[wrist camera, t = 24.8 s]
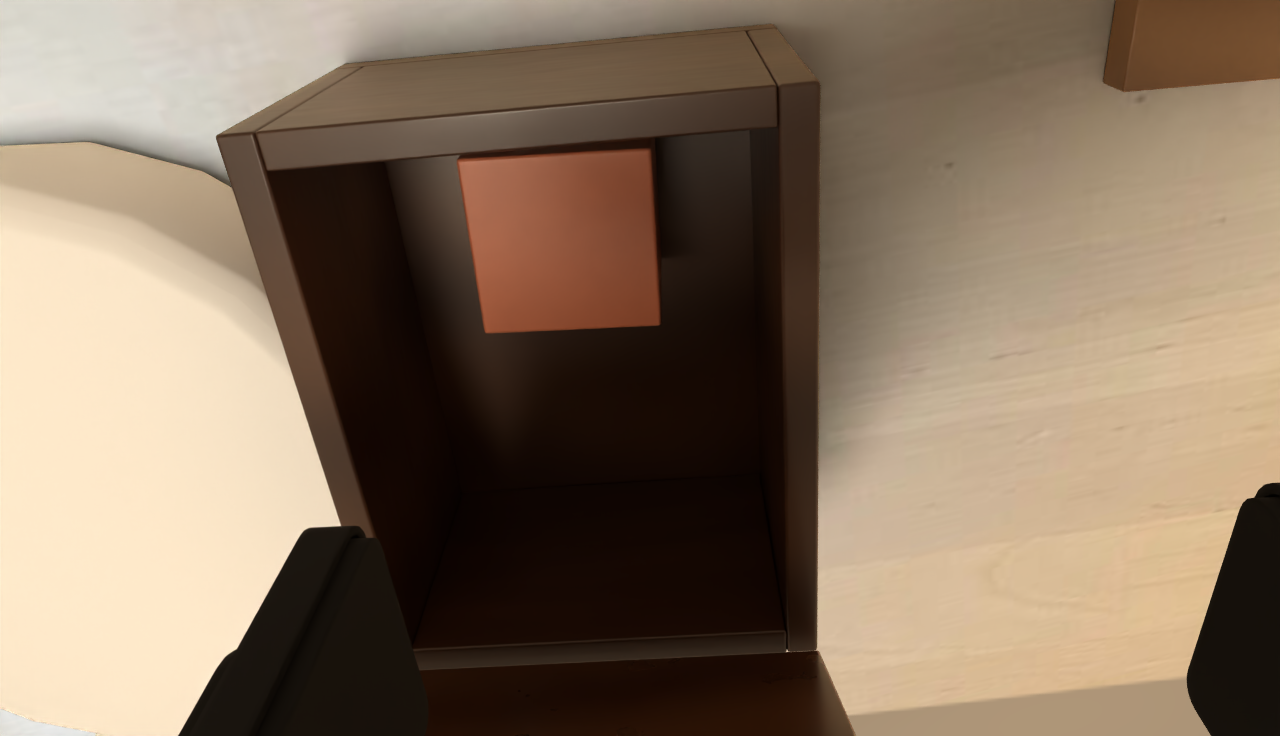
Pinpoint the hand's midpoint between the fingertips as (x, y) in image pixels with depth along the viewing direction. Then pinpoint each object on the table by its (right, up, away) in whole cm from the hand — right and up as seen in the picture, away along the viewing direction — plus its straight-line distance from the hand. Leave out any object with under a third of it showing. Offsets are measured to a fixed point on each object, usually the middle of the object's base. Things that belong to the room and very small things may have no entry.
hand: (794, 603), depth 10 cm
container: (-18, 0, +20) cm, 27 cm away
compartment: (-3, +5, +17) cm, 18 cm away
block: (-3, +8, +15) cm, 17 cm away
